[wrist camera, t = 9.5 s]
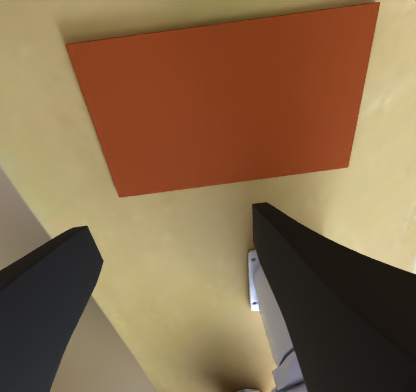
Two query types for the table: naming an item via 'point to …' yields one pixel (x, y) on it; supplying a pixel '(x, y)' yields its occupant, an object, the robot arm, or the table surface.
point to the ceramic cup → (248, 390)
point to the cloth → (228, 98)
